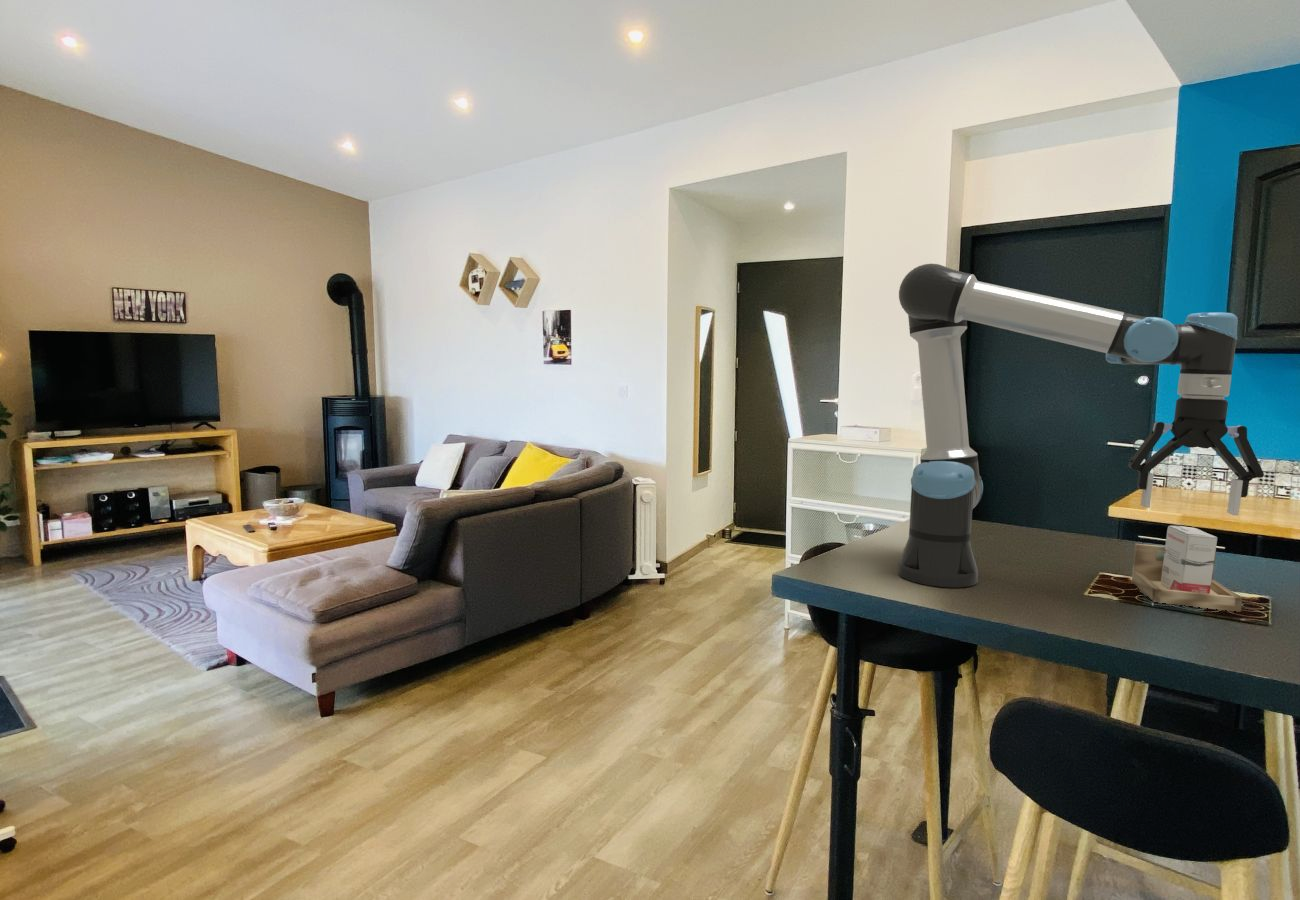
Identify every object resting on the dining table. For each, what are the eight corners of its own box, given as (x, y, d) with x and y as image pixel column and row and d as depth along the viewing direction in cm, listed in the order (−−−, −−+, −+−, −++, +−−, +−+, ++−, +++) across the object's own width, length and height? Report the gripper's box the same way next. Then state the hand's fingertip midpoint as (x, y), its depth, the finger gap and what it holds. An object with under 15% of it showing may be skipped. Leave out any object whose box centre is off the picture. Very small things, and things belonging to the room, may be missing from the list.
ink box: (1212, 599, 125) (1218, 536, 124) (1180, 596, 126) (1186, 533, 125) (1189, 585, 133) (1194, 526, 132) (1159, 583, 135) (1164, 524, 133)
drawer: (1153, 602, 126) (1157, 560, 125) (1131, 581, 139) (1135, 543, 138) (1240, 612, 121) (1245, 568, 120) (1209, 589, 134) (1213, 550, 133)
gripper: (1128, 395, 127) (1115, 506, 129) (1298, 401, 118) (1281, 521, 120) (1117, 394, 134) (1105, 500, 136) (1277, 400, 125) (1261, 513, 127)
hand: (1187, 510), depth 128 cm, fingers open, 13 cm apart
